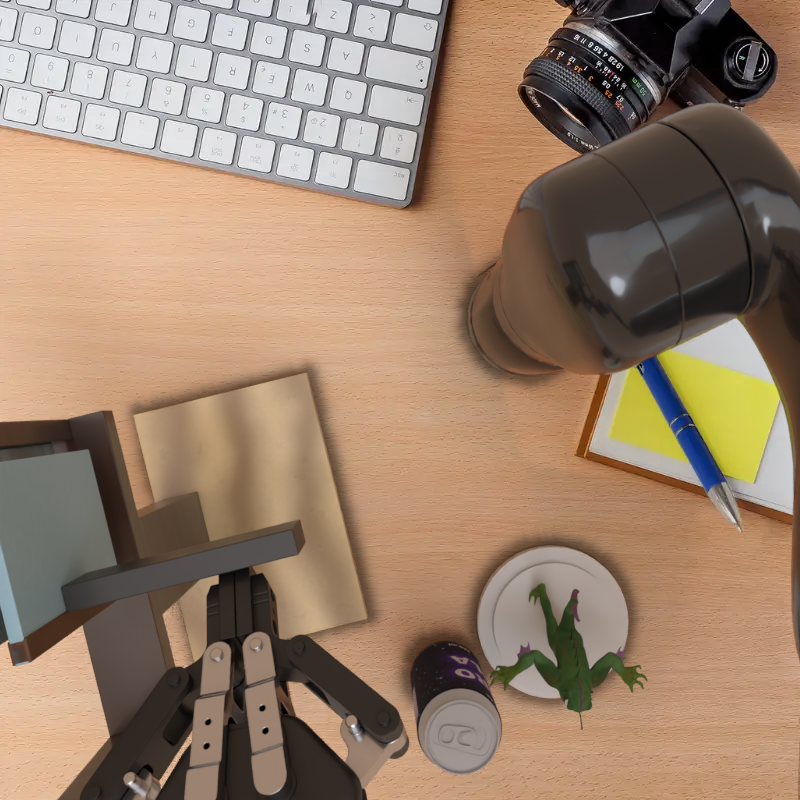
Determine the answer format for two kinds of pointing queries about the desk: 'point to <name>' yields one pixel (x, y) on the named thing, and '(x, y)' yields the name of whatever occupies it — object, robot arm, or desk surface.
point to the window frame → (132, 540)
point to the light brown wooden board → (259, 496)
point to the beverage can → (454, 709)
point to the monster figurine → (554, 625)
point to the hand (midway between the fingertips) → (241, 576)
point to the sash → (91, 553)
